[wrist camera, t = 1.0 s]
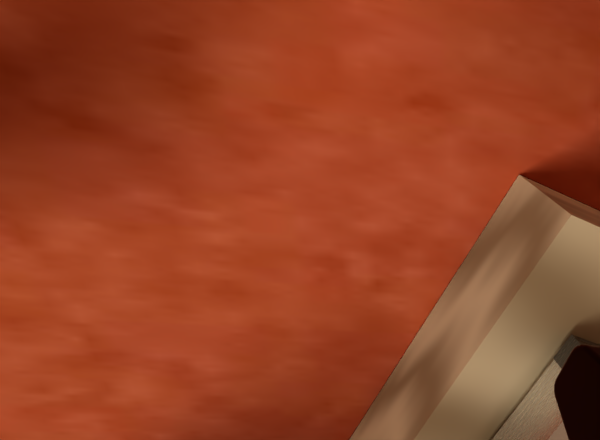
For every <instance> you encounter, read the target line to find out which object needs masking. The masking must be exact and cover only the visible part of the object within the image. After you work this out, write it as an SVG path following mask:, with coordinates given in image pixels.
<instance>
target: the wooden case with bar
mask: <svg viewBox="0 0 600 440" xmlns="http://www.w3.org/2000/svg"><path fill="white" fill-rule="evenodd" d="M571 334H572V335H575V336H577V337H580V338H583V339H585V340H588V341H591V342H594V343H596V344H599V345H600V211H599V210H596V209H594V208H592V207H590V206H588V205H585V204H583V203H581V202H579V201H576V200H574V199H572V198H570V197H568V196H565V195H563V194H561V193H559V192H557V191H554V190H552V189H550V188H548V187H545V186H543V185H541V184H539V183H537V182H534V181H532V180H530V179H528V178H526V177H523V176H521V175H519V176H518V177H517V179H516V180H515V182H514V183H513V185H512V187H511V188H510V190H509V191H508V193H507V194H506V196H505V198H504V199H503V201H502V202H501V204H500V205H499V207H498V208H497V210H496V212H495V213H494V215H493V216H492V218H491V219H490V221H489V223H488V224H487V226H486V227H485V229H484V230H483V232H482V233H481V235H480V237H479V238H478V240H477V241H476V243H475V244H474V246H473V247H472V249H471V251H470V252H469V254H468V255H467V257H466V258H465V260H464V262H463V263H462V265H461V266H460V268H459V269H458V271H457V272H456V274H455V276H454V277H453V279H452V280H451V282H450V283H449V285H448V286H447V288H446V290H445V291H444V293H443V294H442V296H441V297H440V299H439V301H438V302H437V304H436V305H435V307H434V308H433V310H432V311H431V313H430V315H429V316H428V318H427V319H426V321H425V322H424V324H423V325H422V327H421V329H420V330H419V332H418V333H417V335H416V336H415V338H414V340H413V341H412V343H411V344H410V346H409V347H408V349H407V350H406V352H405V354H404V355H403V357H402V358H401V360H400V361H399V363H398V365H397V366H396V368H395V369H394V371H393V372H392V374H391V375H390V377H389V379H388V380H387V382H386V383H385V385H384V386H383V388H382V389H381V391H380V393H379V394H378V396H377V397H376V399H375V400H374V402H373V404H372V405H371V407H370V408H369V410H368V411H367V413H366V414H365V416H364V418H363V419H362V421H361V422H360V424H359V425H358V427H357V428H356V430H355V432H354V433H353V435H352V436H351V438H350V439H349V440H492V439H493V438H494V436H495V435H496V434H497V433H498V431H499V430H500V429H501V427H502V426H503V425H504V424H505V422H506V421H507V420H508V418H509V417H510V416H511V414H512V413H513V412H514V411H515V409H516V408H517V407H518V405H519V404H520V403H521V402H522V400H523V399H524V398H525V396H526V395H527V394H528V392H529V391H530V390H531V389H532V387H533V386H534V385H535V383H536V382H537V381H538V380H539V378H540V377H541V376H542V374H543V373H544V372H545V370H546V369H547V368H548V367H549V365H550V364H551V363H552V361H553V360H554V359H553V358H554V356H555V355H556V354H557V353H558V351H559V350H560V349H561V347H562V346H563V345H564V344H565V342H566V341H567V340H568V338H569V337H570V336H571Z"/></svg>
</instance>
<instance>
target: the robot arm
mask: <svg viewBox="0 0 600 440" xmlns="http://www.w3.org/2000/svg"><path fill="white" fill-rule="evenodd" d="M554 394H555V398H556V401H557V404H558V408H559V411H560V414H561V417H562V420H563V424H564V427H565V430H566V433H567V436H568V439H569V440H600V346H593V345H585V344H582V345H578V346H576V347H575V348H574V349H573V350H572V352H571V354H570V355H569V357H568V359H567V361H566V362H565V364H564V366H563V367H562V369H561V371H560V373H559V374H558V376H557V378H556V380H555V384H554Z"/></svg>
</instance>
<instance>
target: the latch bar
mask: <svg viewBox="0 0 600 440" xmlns="http://www.w3.org/2000/svg"><path fill="white" fill-rule="evenodd" d="M582 344H585V345H593V346H600V345H599V344H596V343H594V342H591V341H588V340H585V339H583V338H580V337H577V336H575V335H572V334H571V336H570V337H569V338H568V340H567V341H566V342H565V344H564V345H563V346H562V347H561V349H560V350H559V351H558V353H557V354H556V355H555V356H554V358H553V359H554V360H553V361H552V363H551V364H550V365H549V367H548V368H547V369H546V370H545V372H544V373H543V374H542V376H541V377H540V378H539V380H538V381H537V382H536V383H535V385H534V386H533V387H532V389H531V390H530V391H529V392H528V394H527V395H526V396H525V398H524V399H523V400H522V402H521V403H520V404H519V405H518V407H517V408H516V409H515V411H514V412H513V413H512V414H511V416H510V417H509V418H508V420H507V421H506V422H505V424H504V425H503V426H502V427H501V429H500V430H499V431H498V433H497V434H496V435H495V436H494V438H493V439H492V440H569V439H568V436H567V433H566V430H565V427H564V424H563V420H562V417H561V414H560V411H559V408H558V404H557V401H556V398H555V394H554V384H555V380H556V378H557V376H558V374H559V373H560V371H561V369H562V367H563V366H564V364H565V362H566V361H567V359H568V357H569V355H570V354H571V352H572V350H573V349H574V348H575V347H576V346H578V345H582Z"/></svg>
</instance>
